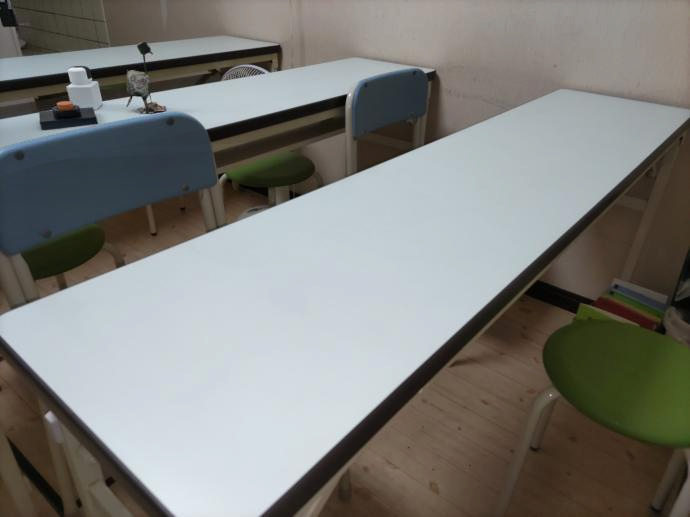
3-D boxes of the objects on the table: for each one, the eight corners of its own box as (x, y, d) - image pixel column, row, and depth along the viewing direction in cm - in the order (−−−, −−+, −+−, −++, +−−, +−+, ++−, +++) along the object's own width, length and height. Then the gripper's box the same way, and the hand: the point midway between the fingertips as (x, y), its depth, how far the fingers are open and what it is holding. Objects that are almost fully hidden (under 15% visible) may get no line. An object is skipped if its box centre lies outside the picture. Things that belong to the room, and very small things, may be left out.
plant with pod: (131, 108, 159) (117, 39, 148) (169, 107, 160) (157, 39, 150) (125, 116, 152) (110, 44, 142) (165, 115, 153) (152, 43, 143)
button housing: (41, 129, 138) (37, 115, 136) (41, 119, 146) (37, 105, 144) (97, 124, 144) (94, 110, 141) (94, 114, 152) (91, 101, 150)
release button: (58, 111, 141) (56, 105, 140) (57, 108, 144) (56, 101, 143) (74, 110, 142) (73, 104, 141) (73, 106, 145) (72, 100, 144)
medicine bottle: (79, 104, 160) (69, 64, 154) (103, 104, 161) (94, 64, 155) (72, 110, 154) (61, 69, 148) (96, 110, 155) (86, 69, 149)
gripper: (-30, -60, 123) (-6, 23, 133) (-36, -60, 112) (-9, 30, 121) (6, -59, 126) (27, 22, 136) (3, -59, 115) (27, 30, 124)
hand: (10, 26), depth 128 cm, fingers closed
